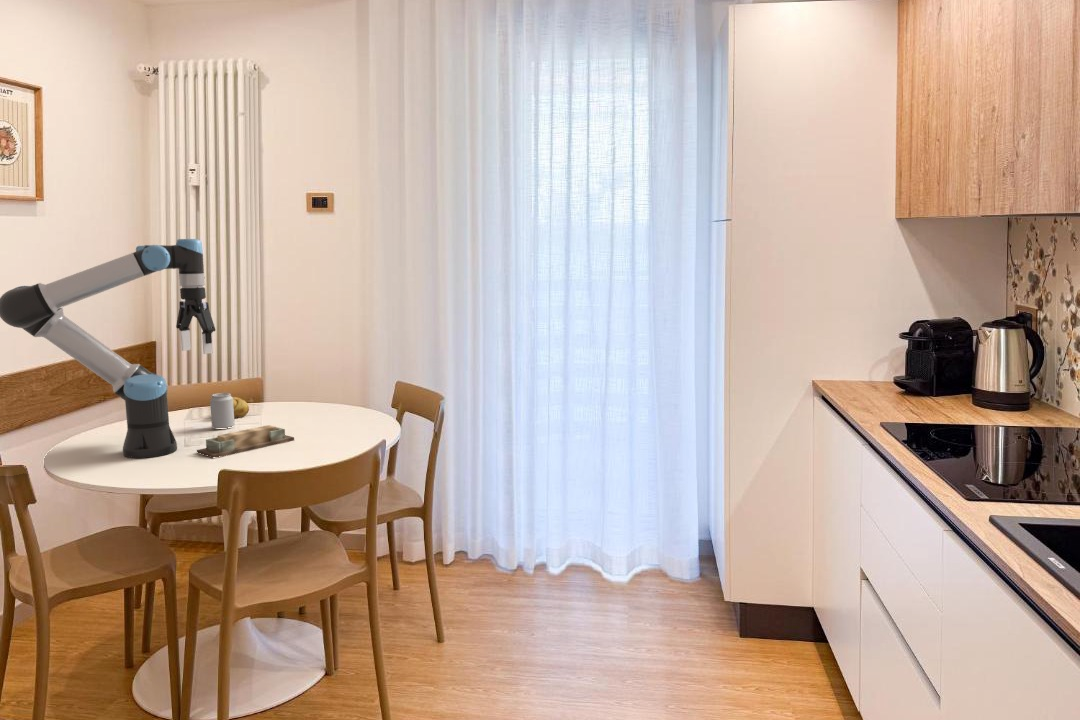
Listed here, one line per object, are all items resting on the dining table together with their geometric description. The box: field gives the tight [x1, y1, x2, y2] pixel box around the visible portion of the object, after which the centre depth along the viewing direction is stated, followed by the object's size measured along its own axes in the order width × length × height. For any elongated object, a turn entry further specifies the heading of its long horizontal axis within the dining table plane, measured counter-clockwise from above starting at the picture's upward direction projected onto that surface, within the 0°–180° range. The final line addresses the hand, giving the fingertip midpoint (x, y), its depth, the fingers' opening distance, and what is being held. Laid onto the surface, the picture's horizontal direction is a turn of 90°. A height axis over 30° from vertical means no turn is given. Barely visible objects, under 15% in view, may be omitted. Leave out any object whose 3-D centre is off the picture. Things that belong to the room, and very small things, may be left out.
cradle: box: [196, 426, 295, 458], centre depth 257 cm, size 28×10×4 cm, turn 141°
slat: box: [216, 424, 277, 448], centre depth 257 cm, size 18×4×4 cm, turn 141°
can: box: [209, 392, 235, 429], centre depth 283 cm, size 8×8×12 cm
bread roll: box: [232, 396, 250, 419], centre depth 303 cm, size 13×10×8 cm
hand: (197, 352), depth 265 cm, fingers open, 13 cm apart
